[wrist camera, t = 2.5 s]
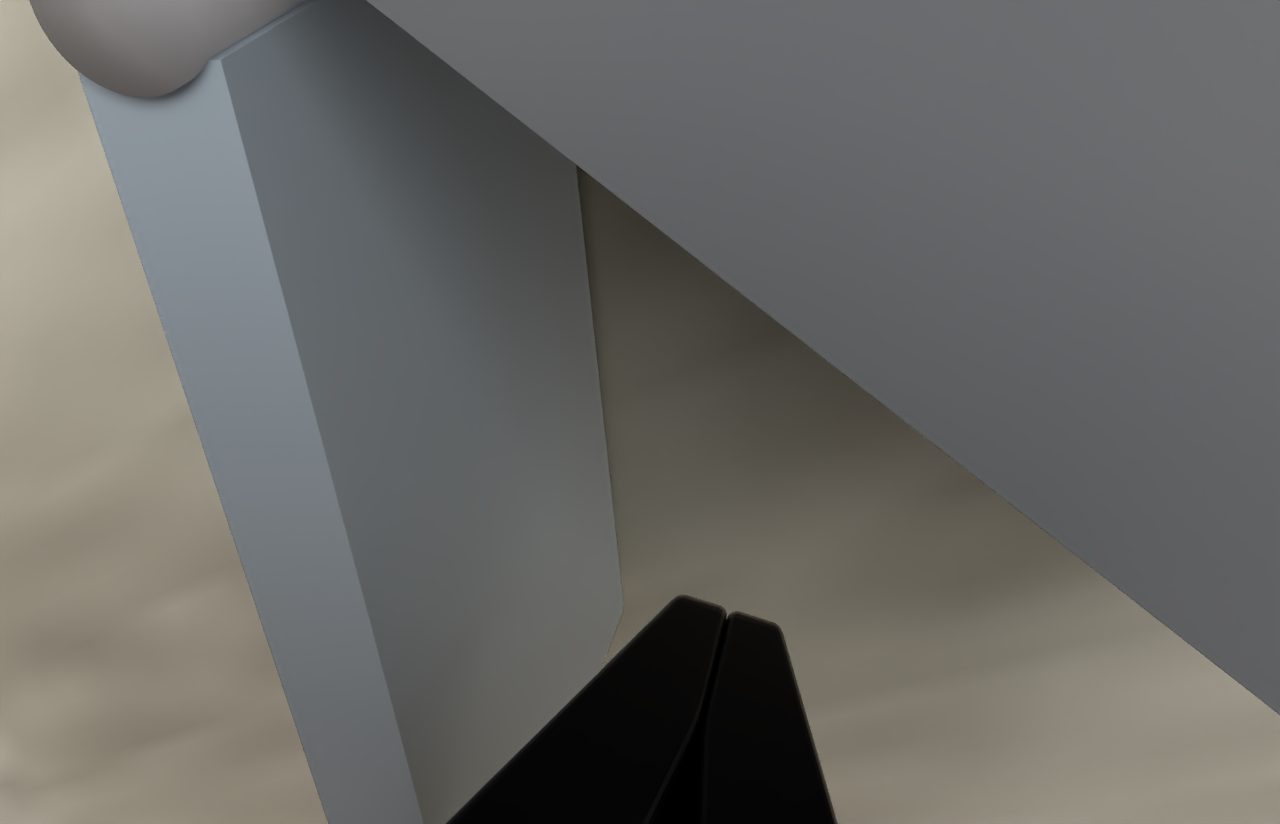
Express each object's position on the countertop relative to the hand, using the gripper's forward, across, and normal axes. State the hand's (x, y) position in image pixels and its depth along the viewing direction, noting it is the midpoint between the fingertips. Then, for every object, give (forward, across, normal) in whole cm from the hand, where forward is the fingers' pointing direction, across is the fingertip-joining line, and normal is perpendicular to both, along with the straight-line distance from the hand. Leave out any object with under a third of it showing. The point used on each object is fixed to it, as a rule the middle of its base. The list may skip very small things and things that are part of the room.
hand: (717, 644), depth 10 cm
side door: (+3, +3, -1) cm, 4 cm away
